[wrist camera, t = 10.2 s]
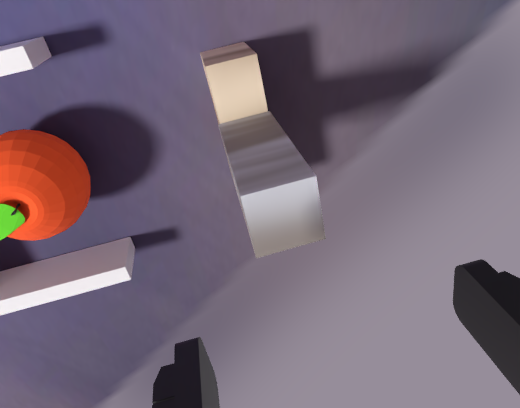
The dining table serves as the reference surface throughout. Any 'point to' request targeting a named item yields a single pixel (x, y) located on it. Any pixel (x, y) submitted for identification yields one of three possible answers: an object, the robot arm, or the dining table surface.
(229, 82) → the silver bent metal strip
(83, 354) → the dining table surface
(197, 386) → the robot arm
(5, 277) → the box
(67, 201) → the clementine
